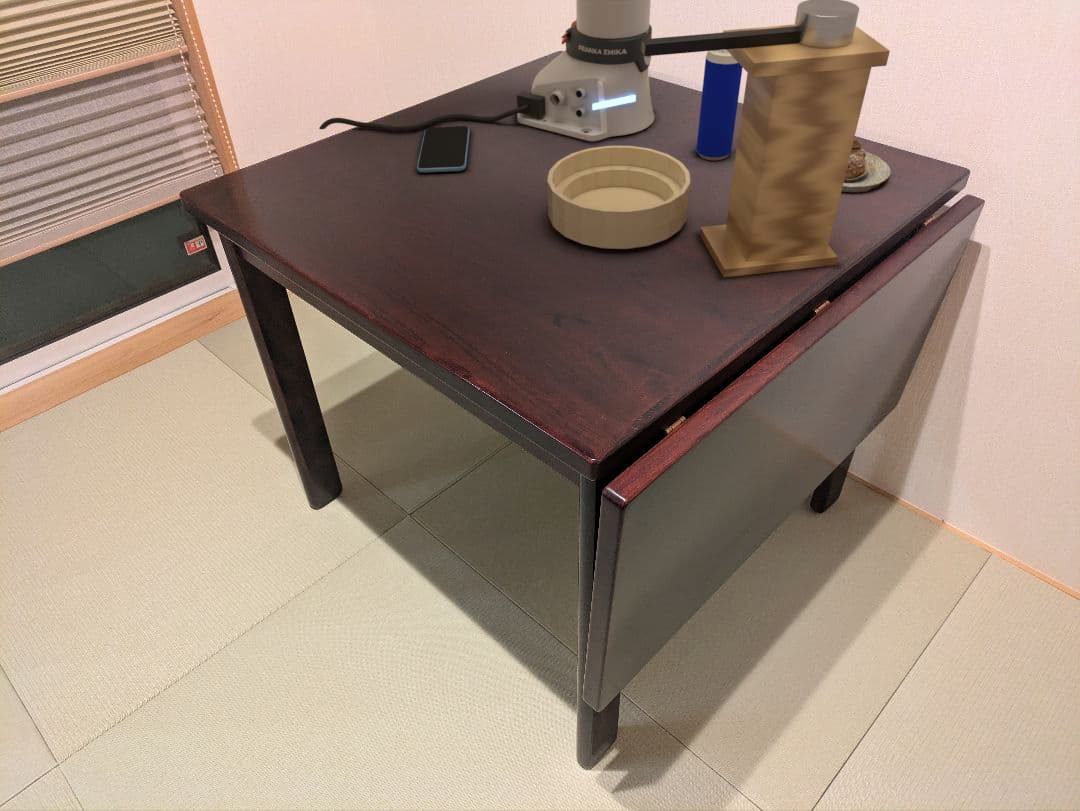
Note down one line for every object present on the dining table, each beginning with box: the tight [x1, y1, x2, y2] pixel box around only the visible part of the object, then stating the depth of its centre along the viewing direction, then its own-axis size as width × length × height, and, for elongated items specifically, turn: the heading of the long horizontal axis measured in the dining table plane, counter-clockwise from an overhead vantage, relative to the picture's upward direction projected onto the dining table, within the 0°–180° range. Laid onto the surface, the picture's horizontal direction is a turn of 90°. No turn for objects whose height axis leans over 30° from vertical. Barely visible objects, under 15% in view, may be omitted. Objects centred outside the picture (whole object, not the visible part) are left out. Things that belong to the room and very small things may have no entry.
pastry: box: [841, 140, 892, 193], centre depth 111 cm, size 12×12×5 cm
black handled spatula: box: [641, 0, 860, 57], centre depth 80 cm, size 22×6×3 cm, turn 98°
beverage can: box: [695, 49, 744, 161], centre depth 114 cm, size 5×5×15 cm
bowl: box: [546, 145, 691, 250], centre depth 104 cm, size 18×18×6 cm
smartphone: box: [416, 125, 471, 173], centre depth 122 cm, size 7×1×15 cm
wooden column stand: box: [699, 24, 891, 278], centre depth 90 cm, size 14×10×25 cm
